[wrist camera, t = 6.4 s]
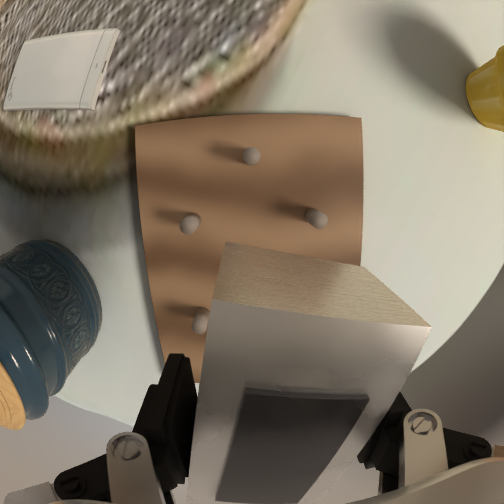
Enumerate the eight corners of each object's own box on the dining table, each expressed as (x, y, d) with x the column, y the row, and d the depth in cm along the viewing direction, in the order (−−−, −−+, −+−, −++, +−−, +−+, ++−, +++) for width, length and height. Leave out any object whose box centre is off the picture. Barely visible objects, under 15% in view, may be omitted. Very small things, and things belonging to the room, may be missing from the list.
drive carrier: (225, 241, 10) (210, 303, 5) (364, 266, 10) (435, 331, 5) (195, 435, 12) (184, 513, 8) (292, 445, 13) (305, 518, 8)
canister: (99, 367, 27) (30, 488, 10) (14, 320, 26) (-72, 401, 9) (115, 264, 24) (-16, 386, 7) (17, 219, 23) (-114, 274, 6)
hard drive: (1, 110, 18) (88, 108, 19) (24, 39, 16) (116, 25, 17) (11, 111, 20) (96, 111, 21) (32, 43, 18) (122, 32, 19)
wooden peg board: (139, 127, 21) (123, 121, 18) (356, 119, 21) (374, 113, 18) (171, 375, 28) (165, 398, 24) (343, 366, 28) (353, 387, 25)
